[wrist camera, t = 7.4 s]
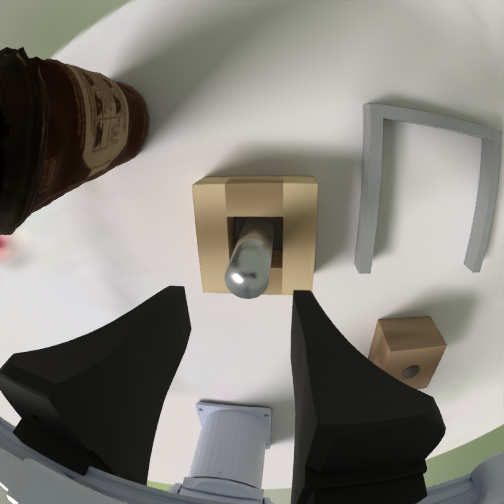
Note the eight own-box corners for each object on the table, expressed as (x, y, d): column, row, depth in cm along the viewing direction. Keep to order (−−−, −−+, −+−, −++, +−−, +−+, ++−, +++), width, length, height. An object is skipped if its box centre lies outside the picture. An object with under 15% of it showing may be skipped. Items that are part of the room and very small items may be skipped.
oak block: (309, 275, 20) (312, 295, 18) (211, 273, 21) (203, 292, 19) (313, 176, 18) (318, 184, 15) (203, 177, 18) (191, 185, 16)
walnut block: (414, 357, 23) (427, 388, 19) (366, 361, 24) (375, 395, 20) (429, 315, 21) (447, 345, 17) (377, 318, 22) (390, 352, 18)
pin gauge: (275, 241, 20) (270, 298, 13) (245, 242, 20) (227, 299, 14) (273, 212, 19) (267, 258, 13) (242, 214, 19) (221, 260, 13)
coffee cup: (138, 43, 15) (-10, -5, 3) (189, 139, 17) (40, 174, 6) (56, 114, 17) (-82, 140, 5) (97, 200, 20) (-36, 281, 8)
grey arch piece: (470, 263, 19) (479, 272, 17) (354, 263, 20) (358, 273, 18) (489, 130, 14) (501, 131, 13) (363, 104, 15) (370, 103, 14)
